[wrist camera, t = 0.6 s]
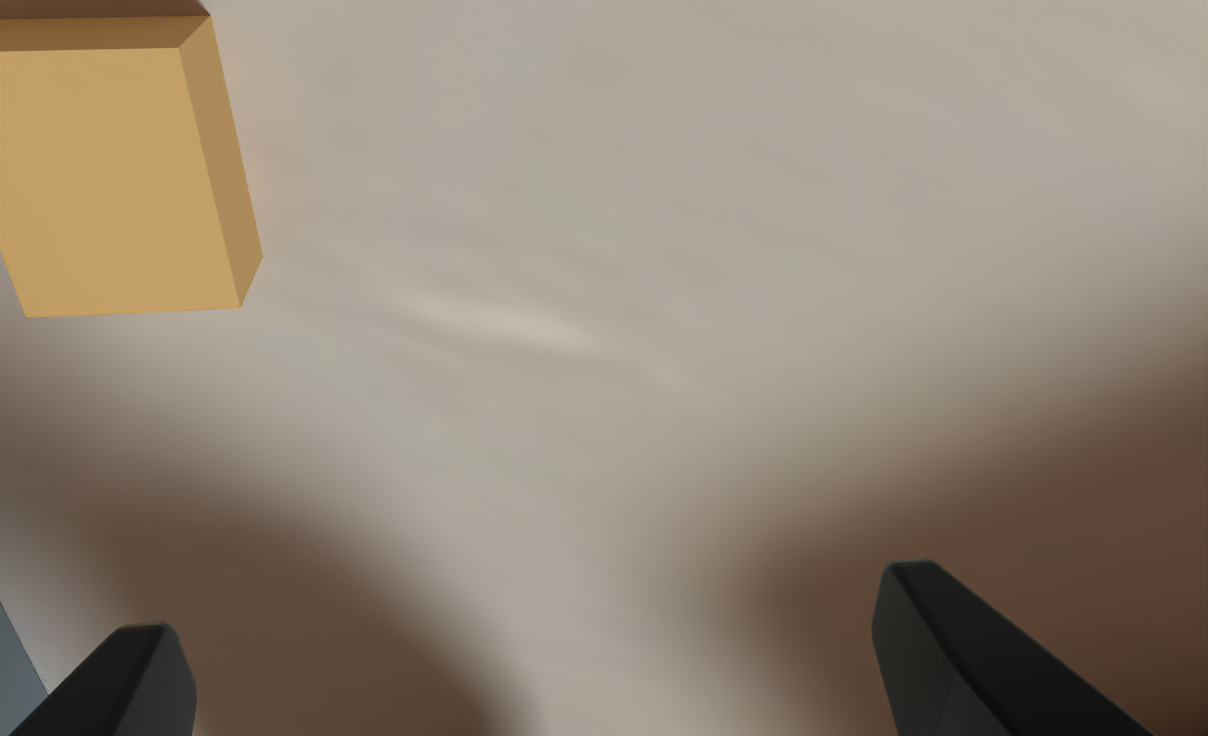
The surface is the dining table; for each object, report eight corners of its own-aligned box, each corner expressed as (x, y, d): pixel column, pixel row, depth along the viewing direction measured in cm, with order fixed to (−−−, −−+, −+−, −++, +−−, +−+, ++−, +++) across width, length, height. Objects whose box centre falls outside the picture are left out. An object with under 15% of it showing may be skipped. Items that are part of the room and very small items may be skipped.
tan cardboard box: (265, 250, 21) (240, 308, 19) (73, 258, 20) (25, 317, 18) (214, 12, 18) (178, 47, 16) (-10, 16, 17) (-76, 53, 15)
